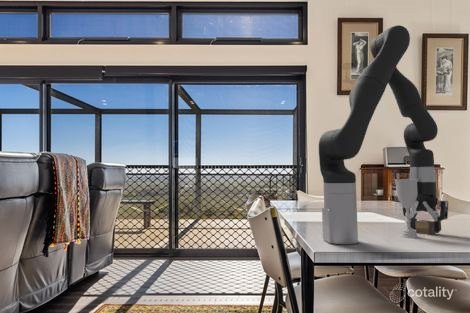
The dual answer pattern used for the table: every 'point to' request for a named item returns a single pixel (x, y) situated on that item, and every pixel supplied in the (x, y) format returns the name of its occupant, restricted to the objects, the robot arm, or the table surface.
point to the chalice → (407, 202)
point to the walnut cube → (424, 227)
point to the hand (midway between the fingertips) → (425, 231)
